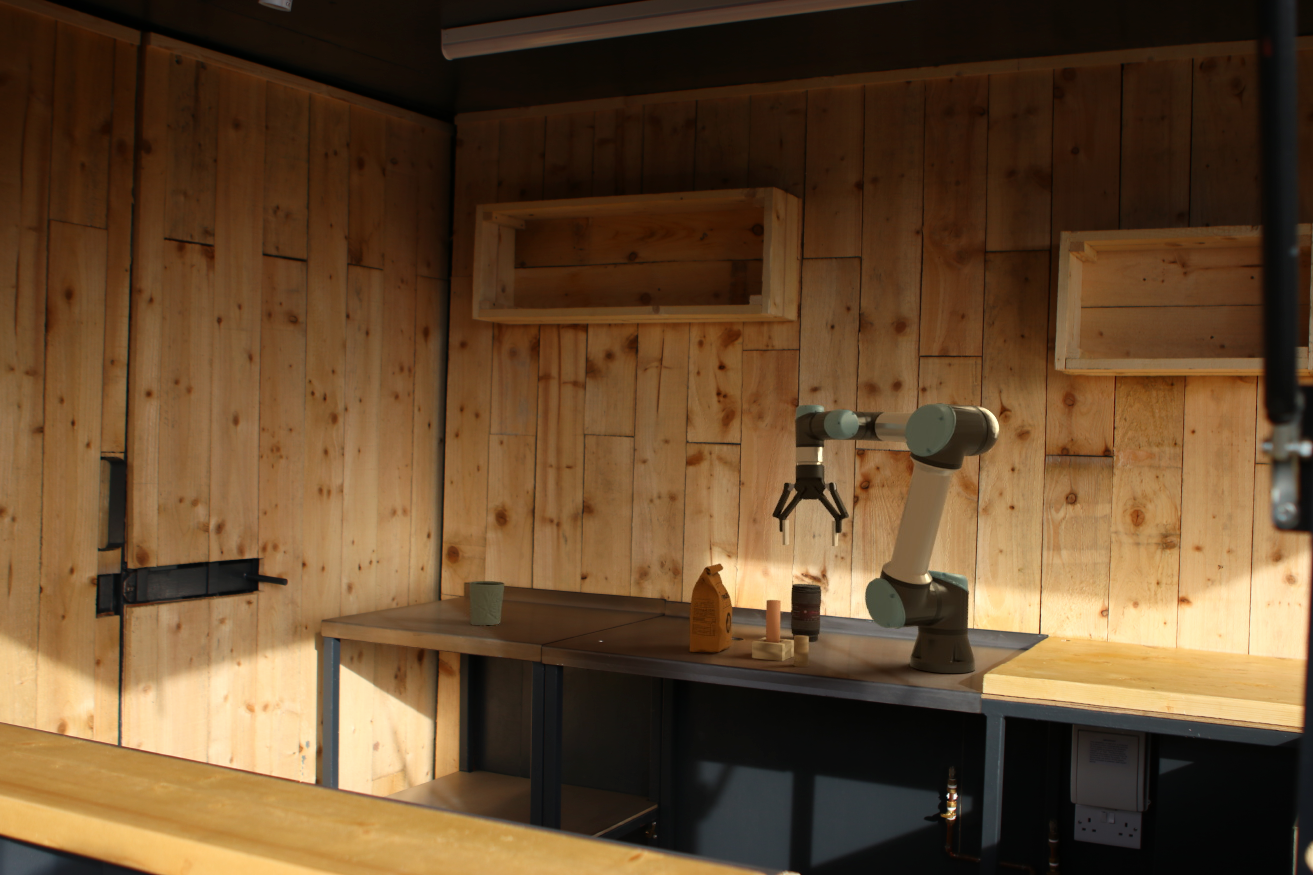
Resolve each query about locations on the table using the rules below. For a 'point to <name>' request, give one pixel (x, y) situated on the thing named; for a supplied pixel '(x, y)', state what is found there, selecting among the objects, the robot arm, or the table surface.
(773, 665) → the table surface
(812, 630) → the camera lens
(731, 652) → the table surface
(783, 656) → the collar block
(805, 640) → the short dowel
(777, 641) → the long dowel
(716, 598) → the coffee package
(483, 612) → the green plant pot
